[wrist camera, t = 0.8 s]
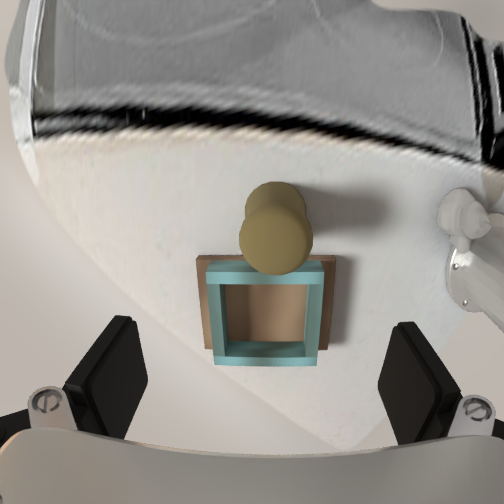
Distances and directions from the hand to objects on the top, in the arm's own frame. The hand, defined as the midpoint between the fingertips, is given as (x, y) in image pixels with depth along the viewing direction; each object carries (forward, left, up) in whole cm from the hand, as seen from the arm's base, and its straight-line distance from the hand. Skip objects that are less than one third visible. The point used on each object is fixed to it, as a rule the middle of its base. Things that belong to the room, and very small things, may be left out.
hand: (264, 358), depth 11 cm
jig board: (+1, +10, -22) cm, 24 cm away
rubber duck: (-20, -1, -22) cm, 30 cm away
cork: (0, 0, -22) cm, 22 cm away
